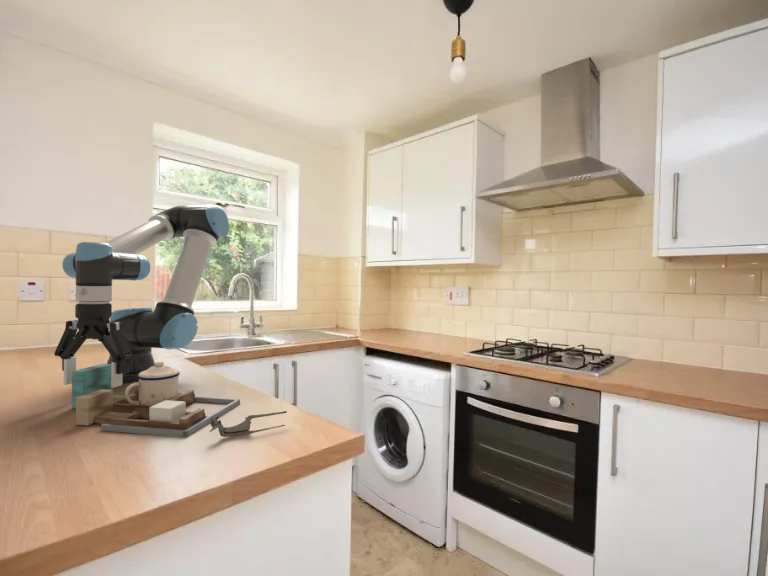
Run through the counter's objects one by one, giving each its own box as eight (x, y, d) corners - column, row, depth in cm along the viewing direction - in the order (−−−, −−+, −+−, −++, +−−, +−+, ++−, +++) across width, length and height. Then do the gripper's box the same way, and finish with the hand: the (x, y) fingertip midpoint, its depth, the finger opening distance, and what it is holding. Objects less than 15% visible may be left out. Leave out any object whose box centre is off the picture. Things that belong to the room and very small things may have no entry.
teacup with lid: (170, 400, 104) (170, 357, 104) (185, 408, 98) (186, 362, 98) (118, 411, 95) (118, 363, 94) (131, 420, 89) (132, 369, 89)
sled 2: (103, 413, 92) (103, 388, 92) (205, 421, 89) (205, 395, 89) (73, 425, 84) (73, 398, 84) (184, 434, 81) (184, 405, 81)
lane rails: (170, 399, 105) (171, 394, 105) (239, 403, 102) (239, 399, 102) (100, 430, 83) (101, 424, 83) (186, 437, 80) (186, 431, 80)
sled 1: (106, 395, 106) (107, 362, 106) (194, 401, 103) (195, 367, 103) (66, 409, 95) (67, 372, 94) (164, 416, 91) (165, 378, 91)
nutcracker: (285, 426, 88) (286, 404, 88) (287, 427, 87) (287, 405, 87) (208, 441, 79) (209, 417, 79) (209, 443, 78) (210, 418, 78)
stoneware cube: (165, 422, 89) (165, 400, 88) (185, 423, 88) (185, 401, 88) (149, 430, 84) (149, 407, 84) (170, 431, 83) (170, 408, 83)
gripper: (36, 301, 98) (36, 385, 98) (126, 304, 94) (125, 391, 95) (64, 300, 105) (64, 378, 105) (148, 303, 102) (147, 383, 102)
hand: (93, 385), depth 100 cm, fingers open, 13 cm apart
